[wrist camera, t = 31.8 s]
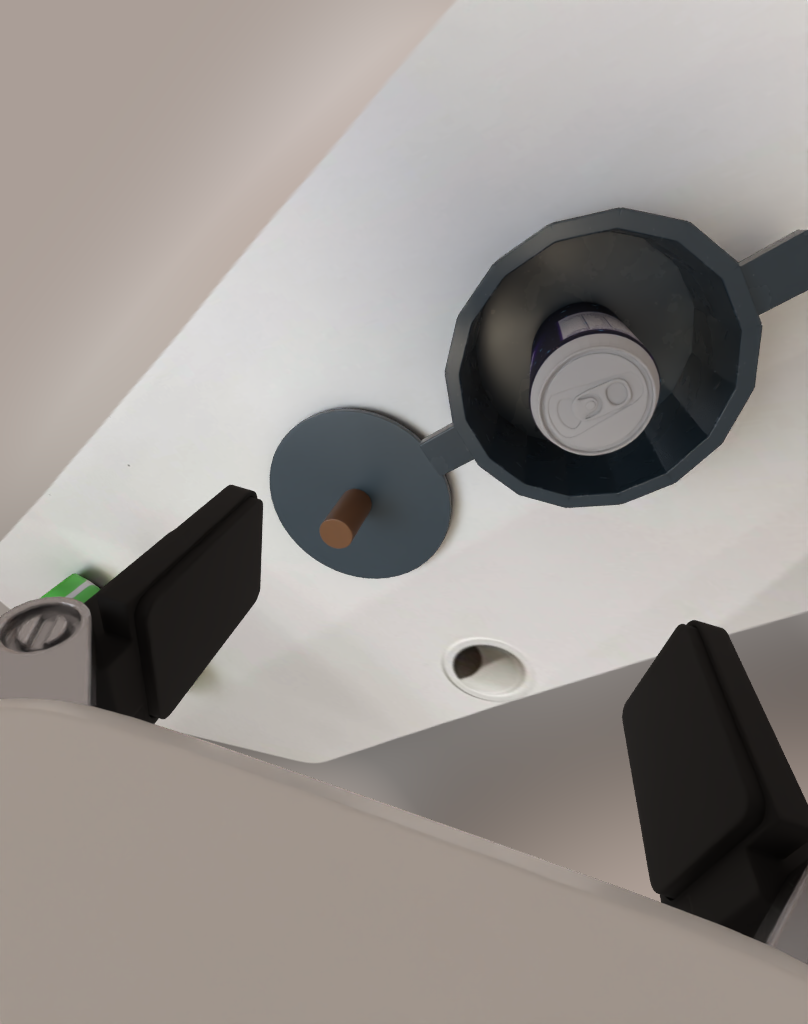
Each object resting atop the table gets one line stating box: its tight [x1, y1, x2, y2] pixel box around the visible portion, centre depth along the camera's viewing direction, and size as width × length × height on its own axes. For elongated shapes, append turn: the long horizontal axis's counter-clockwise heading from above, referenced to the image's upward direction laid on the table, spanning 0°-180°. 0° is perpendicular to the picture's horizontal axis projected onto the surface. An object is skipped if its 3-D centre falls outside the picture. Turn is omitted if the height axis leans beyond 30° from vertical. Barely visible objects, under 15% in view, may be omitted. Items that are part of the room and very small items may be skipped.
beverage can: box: [529, 302, 661, 456], centre depth 26 cm, size 6×6×12 cm
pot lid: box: [270, 409, 451, 579], centre depth 39 cm, size 16×16×6 cm
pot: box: [420, 208, 808, 508], centre depth 28 cm, size 15×20×8 cm
